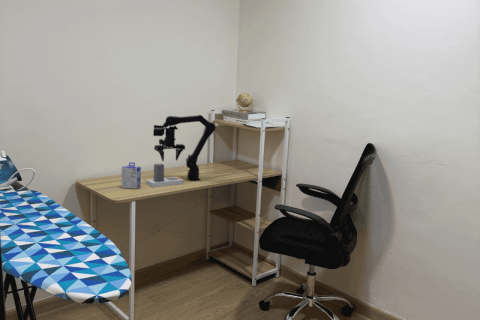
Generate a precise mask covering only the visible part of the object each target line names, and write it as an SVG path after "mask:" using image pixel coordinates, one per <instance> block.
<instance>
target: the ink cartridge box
mask: <svg viewBox="0 0 480 320" xmlns="http://www.w3.org/2000/svg"><path fill="white" fill-rule="evenodd" d="M135 165H136V162H130V161H129V163H128V165H123V166H121V188H123V189H124V188H125V189H135V190H137V189H140V188H141V185H142V184H141V182H142V180H141V178H142V174H141V173H142V172H141V171H142V167H141V166H135Z"/></svg>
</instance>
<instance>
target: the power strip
mask: <svg viewBox="0 0 480 320" xmlns="http://www.w3.org/2000/svg"><path fill="white" fill-rule="evenodd" d="M146 184H147V185H148V186H150V187H151V188H157V187H165V186H175V185H176V186H177V185H183V184H184V179H182V178H181V177H180V176H172V177H164V181H161V182H155V181H154V178H150V179H146Z"/></svg>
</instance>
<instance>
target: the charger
mask: <svg viewBox="0 0 480 320" xmlns="http://www.w3.org/2000/svg"><path fill="white" fill-rule="evenodd" d="M164 178H165V165H164V164H163V163H154V164H153V179H154V181H155V182H161V181H164Z"/></svg>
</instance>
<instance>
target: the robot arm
mask: <svg viewBox="0 0 480 320" xmlns="http://www.w3.org/2000/svg"><path fill="white" fill-rule="evenodd" d="M196 122H199V123H200V124H202V125H203V126H204V129H203V132H202V135H201V137H200V139H199V141H198V143H197V144H196V146H195V148H194V150H193V152H192V153H191V154H188V155H187V157H186V159H185V165H186V168H188V170H187V178H186V179H187V180H189V181H193V182H195V181H199V180H201V178H200V168H199V166H198V164H197V162H198V158H199V155H200V154H201V151H202V149H203V148H204V146H205V145H206V143H207V142H208V139H209V137H211V135H212V134H214V131H216V125H215V124H214V123H213V122H212V121H209V120H207V119H206V118H205V117H204V116H203V115H202V114H198V115H187V116H177V115H176V116H175V115H168V116H166V118H165V121H164V122H163V124H162V125H161V124H160V125H158V124H153V133H152V134H153V137H163V136H165V137H164V138H161V139H160V138H159V139H158V144H157V145H156V144H155V145H154V147H153V149H154V151H156V152H158V154H159V156H160V158H161V161H162V162H164V161H165V151H164V150H171V149H172V150H173V149H175V161H178V160H179V156H181V153H182V152H183V151H184V150H186V146H185V145H184V144H183V143H175V142H176V137H175V134H176V130H179V128H178V126H177V125H180V124H185V123H187V124H188V123H196Z"/></svg>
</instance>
